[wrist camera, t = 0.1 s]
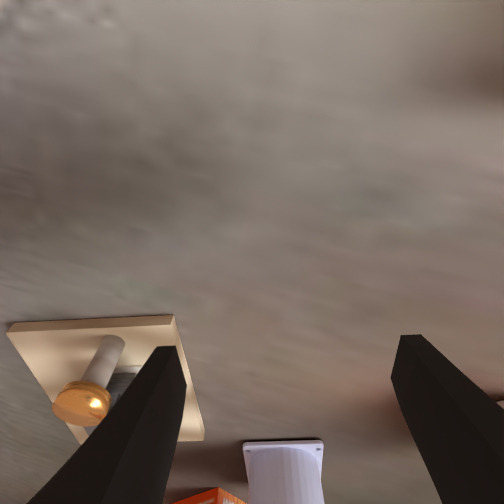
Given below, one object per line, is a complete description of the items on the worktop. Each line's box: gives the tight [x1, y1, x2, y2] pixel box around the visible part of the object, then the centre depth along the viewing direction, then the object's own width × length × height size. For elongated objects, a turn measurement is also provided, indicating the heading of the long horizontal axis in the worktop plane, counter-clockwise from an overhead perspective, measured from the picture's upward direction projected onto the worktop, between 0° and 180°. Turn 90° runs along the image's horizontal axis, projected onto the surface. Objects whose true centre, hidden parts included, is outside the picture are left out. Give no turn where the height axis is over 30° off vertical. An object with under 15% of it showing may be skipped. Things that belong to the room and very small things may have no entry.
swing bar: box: [52, 373, 137, 436], centre depth 23 cm, size 14×4×4 cm, turn 4°
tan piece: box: [6, 315, 205, 444], centre depth 25 cm, size 15×12×5 cm
